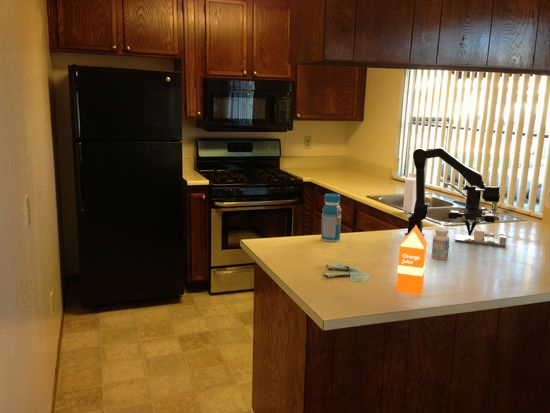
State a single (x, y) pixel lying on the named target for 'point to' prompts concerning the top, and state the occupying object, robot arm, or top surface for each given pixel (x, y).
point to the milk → (410, 193)
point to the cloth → (353, 273)
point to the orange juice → (411, 263)
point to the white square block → (480, 234)
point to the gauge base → (485, 242)
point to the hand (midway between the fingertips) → (469, 235)
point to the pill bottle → (440, 244)
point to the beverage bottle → (331, 218)
